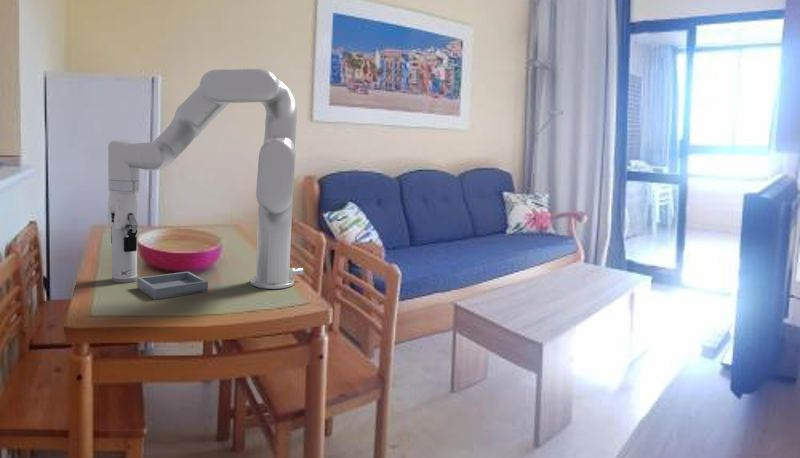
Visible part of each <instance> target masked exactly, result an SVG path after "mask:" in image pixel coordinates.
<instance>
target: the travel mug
mask: <svg viewBox="0 0 800 458" xmlns="http://www.w3.org/2000/svg"><path fill="white" fill-rule="evenodd" d="M114 216H115V213H112V221H111V223H112V224H111V225H110V229H111V228H112V230H111V231H112V244H111V273H112V274H111V275H112V279H111V280H112V281H113V282H114V283H119V284H127V283H128V284H129V283H133V282H136V281H137V278H138V249H137V250H136V251H132V252H124V237H125V234H124V230H123V228H122V229H117V228H115V227H114V220H113V219H114ZM127 231H128V232H129V230H127Z"/></svg>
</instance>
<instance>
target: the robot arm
mask: <svg viewBox="0 0 800 458" xmlns="http://www.w3.org/2000/svg"><path fill="white" fill-rule="evenodd" d="M288 87H289V86H287V85H286V84H285V83H284V82H283V81H281V80H280V79H279V78H277V76H276V75H274V74H273V73H272V72H271V71H269V70H268V69H263V68H247V69H246V68H239V69H238V68H237V69H236V68H235V69H233V68H232V69H230V68H229V69H226V68H225V69H216V68H215V69H211V70H209V71H207V72H205V73H204V74H203V75H202V76H201V78H200V81H199V85H198V87H197V88H196V89H195V90H194V91H193V92H191V94H190V95H189V96H188V97H187V98H186V99H185V100H184V101H182V103H181V104H179V106H178V107H177V108H176V109H175V112H174V116H173V118H172V120H171V122H170V123H169V125H168V126H167V127H166V128H165V129H164V130H163V131H162V132H161V134H160V135H159V136H158V137H157V138H155V139H154V140H153V141H149V142H148V141H147V142H136V141H133V140H124V139H112V140H111V141H109V143H108V146H107V148H108V152H107V153H108V154H107V157H108V160H107V161H108V162H107V163H108V164H107V165H108V166H107V167H108V169H107V172H108V177H107V178H108V181H107V182H108V185H107V186H108V189H107V190H108V192H109V196H108V204H107V206H108V207H107V223H108V224H109V226H111V224H112V223H111V221H112V213H115V216H114V219H113V220H114V227H115V228H117V229H122V228H123V230H124V234H125V237H124V252H132V251H136V250H137V251H138V227H139V223H138V222H139V210H138V193H140V169H141V170H146V171H151V172H152V171H157V170H160V169H164V168H167V167H168V166H170V165H171V164H172V163H173V162H175V160H176V159H177V158H178V157H179V156H180V155H181V154H182V153H183V152H184V151H185V150H186V149H187V148H188V147H190V145H191V143H193V141H194V140H195V139H196V138H197V137H199V135H200V134H201V133H202V132H203V131H204V130H205V128H207V126H209V124H211V122H212V121H213V120H214V119H215V118H216V117H217V116H218V115H219V114H221V112H222V111H224V109H225V108H227V106H228V105H229V104H231V103H233V104H234V103H235V104H236V103H238V104H239V103H245V104H247V103H261V104H262V105H263V107H264V109H265V119H264V120H265V121H264V126H265V128H264V136H263V138H264V140H263V144H262V145H261V147H260V150H259V153H258V160H257V161H258V163H257V177H256V178H257V179H256V189H255V199H256V202H257V205H258V208H257V209H258V210H257V232H256V233H257V235H256V239H257V240H256V266H255V276H252V277H250V280H249V281H250V282H249V283H250V285H252V286H253V287H255V288H260V289H267V290H278V289H279V290H280V289H286V288H290V287H292V286H293V285H295V278H294V277H295V275H297V276H298V275H299V276H300V275H303V273H304V268H303V267H296V268H295V267H291V243H292V241H291V240H292V219H293V218H292V217H293V199H294V192H293V191H294V190H293V189H294V177H295V167H296V158H297V157H296V155H297V154H296V135H297V118H298V117H297V116H298V115H297V114H298V113H297V112H298V111H297V105H296V100H295V97H294V95H293V94H292V92H291V89H289V88H288ZM127 230H129V232H128V231H127ZM110 244H111V245H112V228H111V227H110Z"/></svg>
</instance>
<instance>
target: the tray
mask: <svg viewBox="0 0 800 458" xmlns="http://www.w3.org/2000/svg"><path fill="white" fill-rule="evenodd" d="M136 281H137V289H138V290H140V291H142V293H144V294H146V295H148V297H151V298H152V299H154V300H161V299H163V300H164V299H167V298H174V297H181V296H189V295H194V294H200V293H208V291H209V289H208V287H209V286H208V285H209V281H208V280H206V279H204V278H202V277H199V276H198V275H196V274H194V273H193V272H190V271H181V272H175V273H167V274H166V273H165V274H160V275H159V274H158V275H151V276H150V275H149V276H141V277H137V280H136Z"/></svg>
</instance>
